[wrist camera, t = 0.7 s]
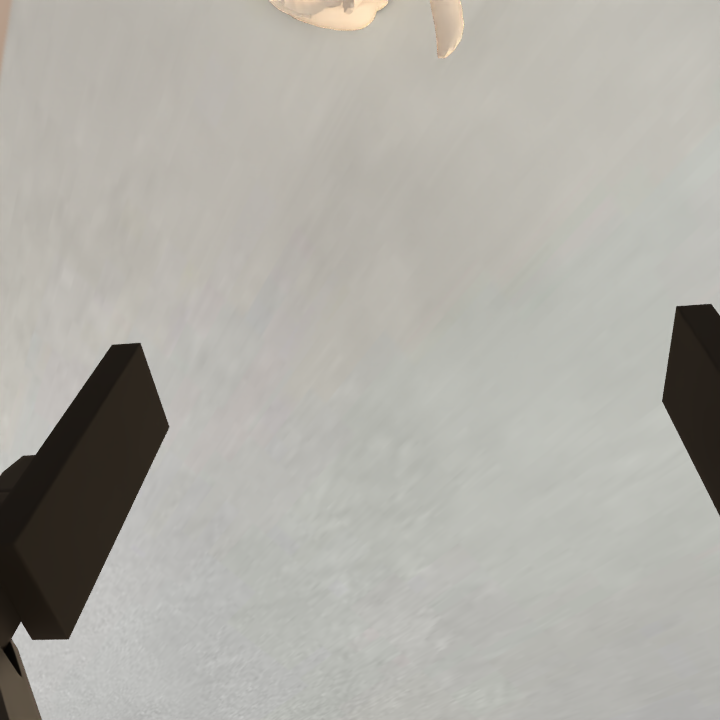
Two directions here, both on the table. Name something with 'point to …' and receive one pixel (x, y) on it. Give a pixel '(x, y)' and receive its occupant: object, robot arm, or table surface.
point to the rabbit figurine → (358, 9)
